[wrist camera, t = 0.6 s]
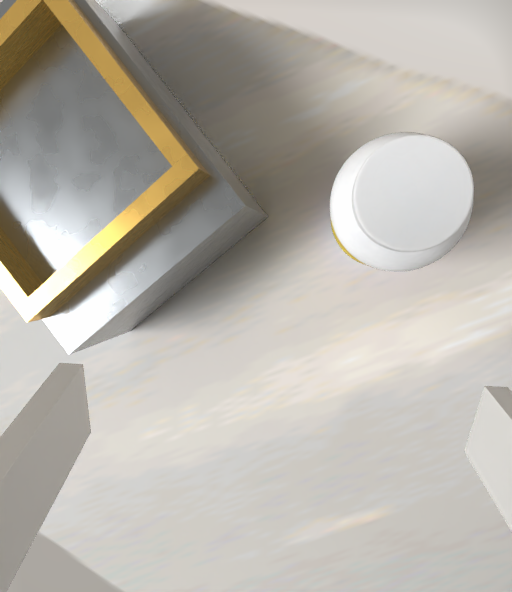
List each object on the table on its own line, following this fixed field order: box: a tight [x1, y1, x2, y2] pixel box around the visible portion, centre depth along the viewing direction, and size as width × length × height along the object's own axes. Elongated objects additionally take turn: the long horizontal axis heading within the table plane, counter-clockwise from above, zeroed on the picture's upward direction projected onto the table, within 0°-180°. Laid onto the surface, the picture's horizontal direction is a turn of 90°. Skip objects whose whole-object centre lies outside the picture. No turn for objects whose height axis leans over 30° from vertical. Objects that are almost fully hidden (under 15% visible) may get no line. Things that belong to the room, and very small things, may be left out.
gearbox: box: [0, 0, 268, 354], centre depth 28 cm, size 21×14×10 cm, turn 38°
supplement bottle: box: [330, 132, 474, 272], centre depth 24 cm, size 7×7×13 cm
